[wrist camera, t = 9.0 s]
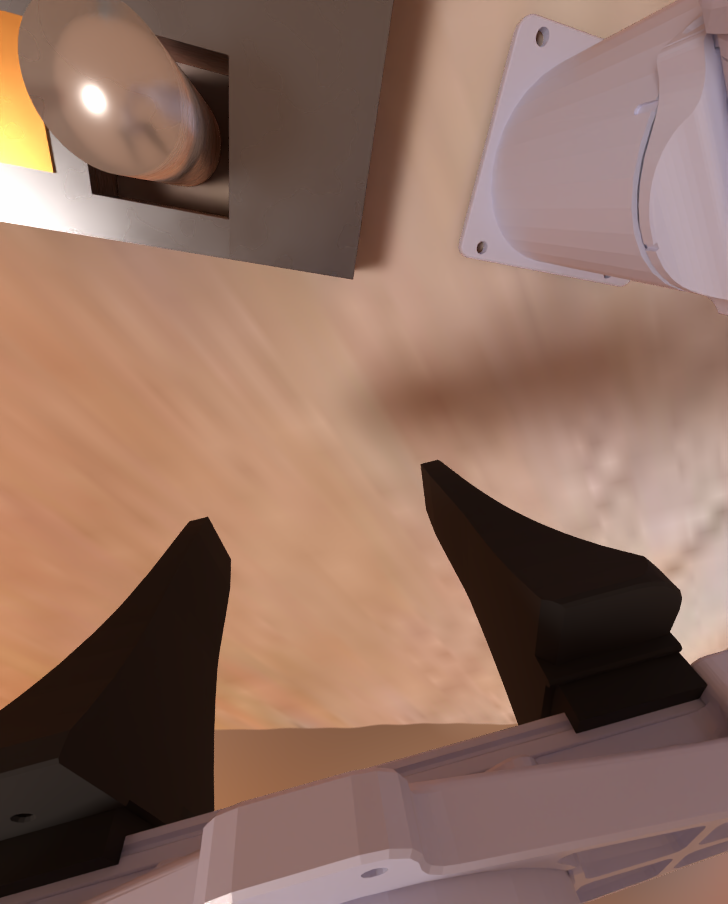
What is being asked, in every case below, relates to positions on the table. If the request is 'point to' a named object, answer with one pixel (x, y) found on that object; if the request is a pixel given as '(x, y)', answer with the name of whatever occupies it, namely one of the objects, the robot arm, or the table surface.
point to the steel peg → (115, 92)
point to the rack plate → (250, 134)
